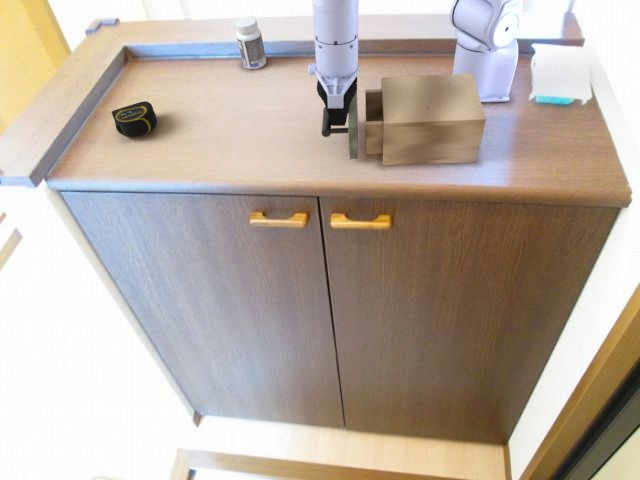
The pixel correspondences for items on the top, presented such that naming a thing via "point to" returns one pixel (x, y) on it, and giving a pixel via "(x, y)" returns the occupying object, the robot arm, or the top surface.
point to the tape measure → (135, 119)
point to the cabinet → (431, 119)
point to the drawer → (372, 124)
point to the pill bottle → (250, 43)
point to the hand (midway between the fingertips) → (338, 123)
